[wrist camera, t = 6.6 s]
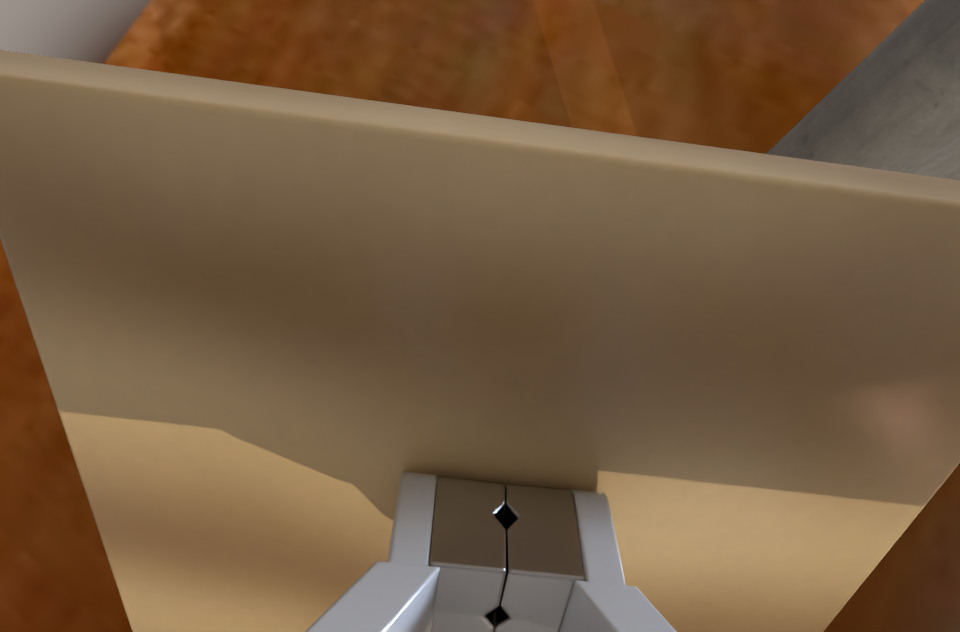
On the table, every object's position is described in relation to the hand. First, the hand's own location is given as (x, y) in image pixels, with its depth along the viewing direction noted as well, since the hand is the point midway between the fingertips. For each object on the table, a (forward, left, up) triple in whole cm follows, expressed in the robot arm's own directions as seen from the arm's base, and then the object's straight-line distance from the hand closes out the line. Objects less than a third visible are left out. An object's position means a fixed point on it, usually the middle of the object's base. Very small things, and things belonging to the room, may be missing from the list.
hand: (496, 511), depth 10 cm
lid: (+1, +1, -3) cm, 3 cm away
